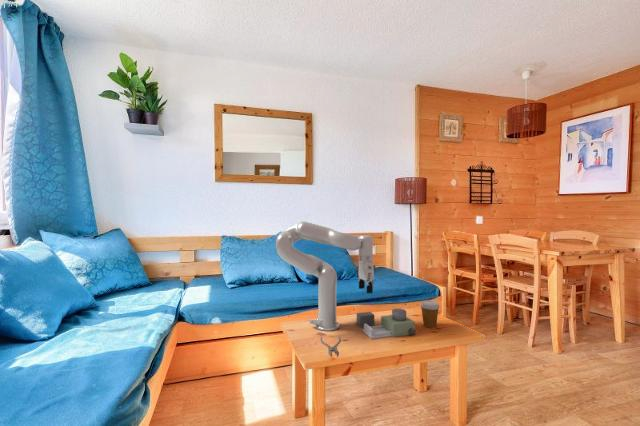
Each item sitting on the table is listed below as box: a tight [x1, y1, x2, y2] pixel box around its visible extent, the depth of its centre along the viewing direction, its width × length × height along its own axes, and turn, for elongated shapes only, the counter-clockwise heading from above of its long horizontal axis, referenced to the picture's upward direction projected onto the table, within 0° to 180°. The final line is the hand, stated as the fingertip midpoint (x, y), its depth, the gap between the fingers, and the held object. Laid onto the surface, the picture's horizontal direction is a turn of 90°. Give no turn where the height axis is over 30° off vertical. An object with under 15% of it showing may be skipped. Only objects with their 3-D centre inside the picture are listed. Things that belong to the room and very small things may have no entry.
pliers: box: [320, 336, 341, 357], centre depth 135 cm, size 10×1×20 cm
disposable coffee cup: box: [420, 300, 440, 329], centre depth 158 cm, size 10×10×12 cm
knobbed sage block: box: [362, 308, 416, 340], centre depth 149 cm, size 23×14×10 cm, turn 107°
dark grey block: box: [356, 311, 375, 329], centre depth 159 cm, size 8×5×6 cm, turn 107°
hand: (365, 290), depth 159 cm, fingers open, 9 cm apart
